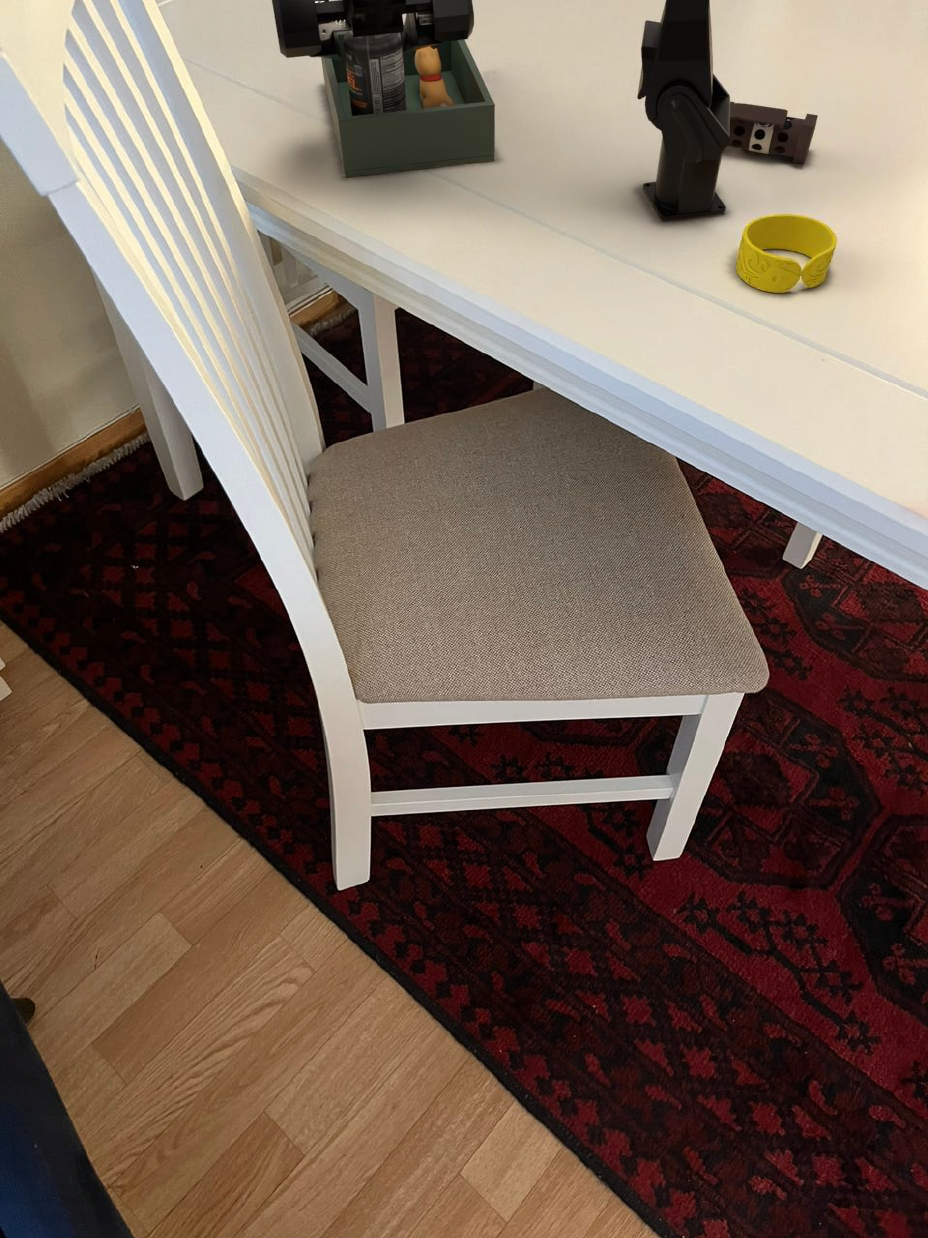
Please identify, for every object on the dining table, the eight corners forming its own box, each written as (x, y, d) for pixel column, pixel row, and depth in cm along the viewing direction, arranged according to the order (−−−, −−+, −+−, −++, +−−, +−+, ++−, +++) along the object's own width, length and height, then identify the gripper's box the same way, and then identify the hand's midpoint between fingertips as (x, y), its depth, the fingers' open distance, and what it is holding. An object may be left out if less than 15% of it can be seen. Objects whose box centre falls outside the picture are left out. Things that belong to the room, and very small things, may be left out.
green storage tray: (494, 160, 97) (494, 104, 93) (345, 177, 96) (338, 120, 91) (456, 72, 110) (455, 19, 106) (324, 86, 109) (318, 33, 104)
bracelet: (720, 255, 85) (728, 221, 83) (800, 241, 87) (809, 206, 84) (758, 299, 81) (767, 264, 78) (841, 283, 82) (852, 248, 80)
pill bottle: (346, 116, 103) (332, -1, 94) (397, 106, 104) (388, -11, 95) (361, 140, 99) (349, 20, 90) (414, 129, 100) (407, 10, 91)
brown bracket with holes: (801, 173, 96) (808, 143, 91) (692, 155, 99) (693, 124, 94) (813, 134, 97) (820, 102, 91) (704, 117, 99) (705, 85, 94)
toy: (438, 76, 108) (434, 28, 104) (467, 146, 98) (465, 96, 94) (409, 80, 108) (405, 33, 104) (436, 151, 97) (432, 100, 93)
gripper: (465, -145, 82) (448, -41, 97) (251, -127, 80) (267, -24, 95) (484, -8, 83) (464, 73, 98) (274, 13, 81) (286, 92, 97)
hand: (371, 51), depth 97 cm, fingers open, 7 cm apart
